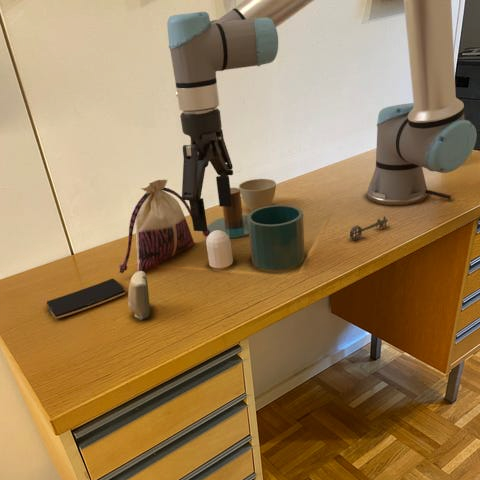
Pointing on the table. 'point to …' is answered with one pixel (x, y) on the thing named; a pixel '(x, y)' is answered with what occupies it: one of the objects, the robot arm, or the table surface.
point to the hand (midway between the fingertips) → (213, 217)
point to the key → (380, 223)
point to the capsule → (219, 249)
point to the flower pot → (257, 193)
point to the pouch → (158, 227)
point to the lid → (232, 218)
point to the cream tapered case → (139, 296)
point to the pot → (276, 237)
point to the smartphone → (85, 298)
